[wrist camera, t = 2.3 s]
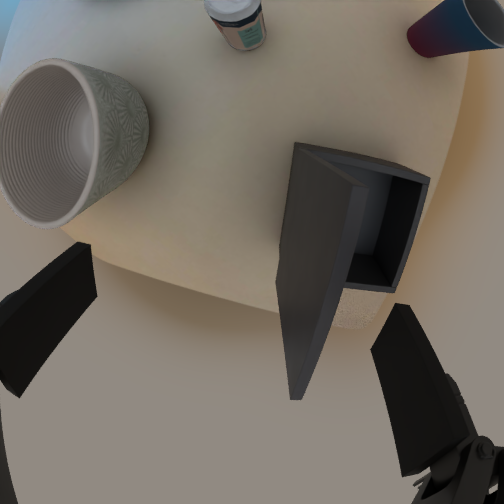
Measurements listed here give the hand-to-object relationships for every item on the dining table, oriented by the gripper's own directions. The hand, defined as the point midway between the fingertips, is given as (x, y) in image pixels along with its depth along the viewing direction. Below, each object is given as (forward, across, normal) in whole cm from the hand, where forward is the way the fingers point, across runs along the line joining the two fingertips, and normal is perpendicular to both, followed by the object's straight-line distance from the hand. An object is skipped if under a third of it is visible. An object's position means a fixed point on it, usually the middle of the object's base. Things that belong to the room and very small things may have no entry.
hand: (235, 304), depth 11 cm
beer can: (+26, -5, +18) cm, 32 cm away
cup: (+25, +17, +24) cm, 39 cm away
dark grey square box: (+25, +10, -1) cm, 27 cm away
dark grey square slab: (+9, +4, -2) cm, 10 cm away
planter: (+26, -22, +4) cm, 34 cm away
